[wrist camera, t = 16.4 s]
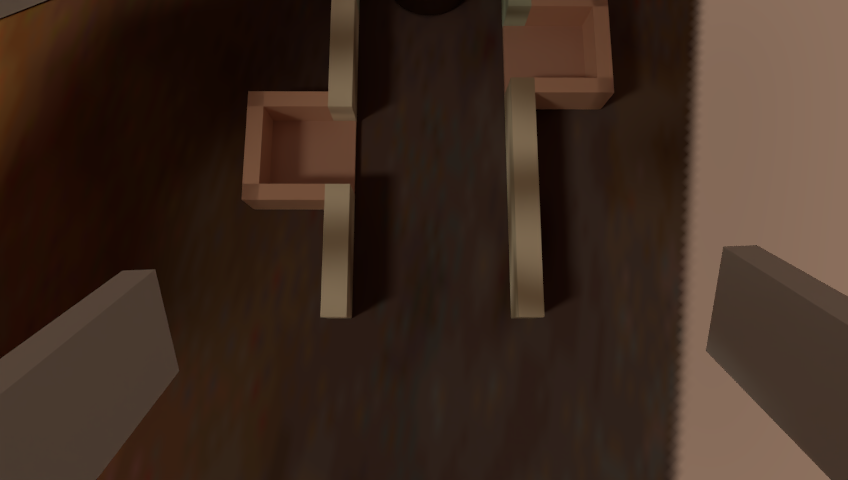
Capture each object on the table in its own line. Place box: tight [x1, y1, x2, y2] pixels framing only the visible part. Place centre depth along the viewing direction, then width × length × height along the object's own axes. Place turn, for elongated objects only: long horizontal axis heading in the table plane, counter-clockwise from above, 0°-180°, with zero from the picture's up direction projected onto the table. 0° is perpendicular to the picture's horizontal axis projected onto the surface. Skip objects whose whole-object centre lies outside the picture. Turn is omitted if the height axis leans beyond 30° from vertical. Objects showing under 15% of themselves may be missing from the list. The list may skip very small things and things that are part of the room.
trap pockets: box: [241, 0, 614, 210], centre depth 34 cm, size 14×23×2 cm, turn 90°
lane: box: [320, 0, 544, 318], centre depth 33 cm, size 31×13×4 cm, turn 0°
